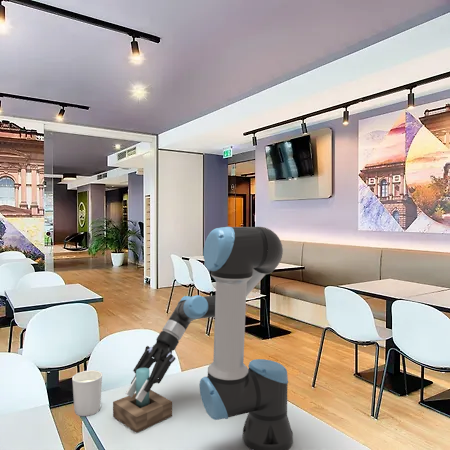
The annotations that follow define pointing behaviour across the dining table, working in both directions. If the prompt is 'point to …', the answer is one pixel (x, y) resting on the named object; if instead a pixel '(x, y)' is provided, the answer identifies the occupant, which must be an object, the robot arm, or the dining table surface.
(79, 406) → the candle holder
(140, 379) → the teal peg
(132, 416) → the walnut block
